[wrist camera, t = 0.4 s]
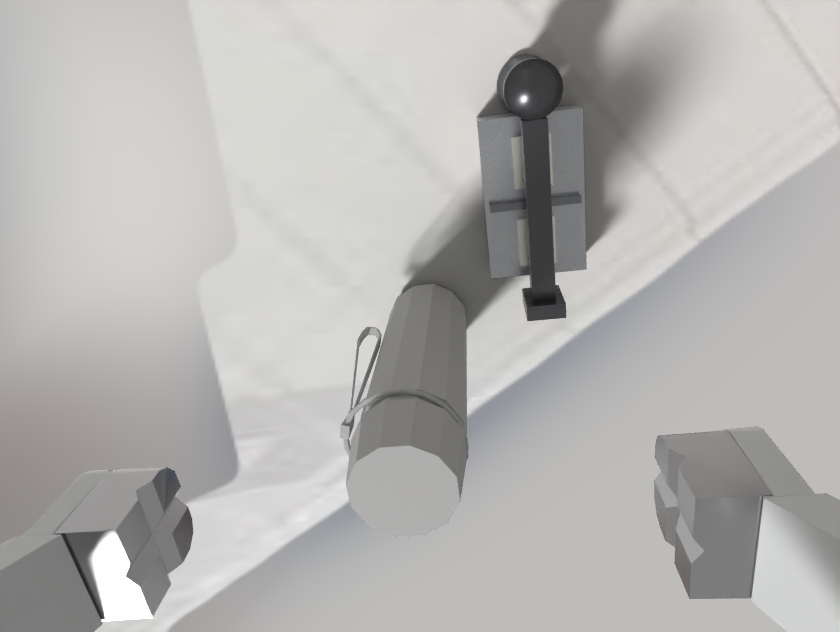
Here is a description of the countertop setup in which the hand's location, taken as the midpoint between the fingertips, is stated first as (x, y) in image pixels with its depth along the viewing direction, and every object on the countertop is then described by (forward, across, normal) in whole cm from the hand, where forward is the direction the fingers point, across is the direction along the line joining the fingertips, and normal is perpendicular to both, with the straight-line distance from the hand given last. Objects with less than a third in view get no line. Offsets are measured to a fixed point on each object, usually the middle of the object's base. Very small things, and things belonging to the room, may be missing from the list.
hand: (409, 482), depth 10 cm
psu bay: (+44, -6, +5) cm, 45 cm away
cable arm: (+40, -6, +4) cm, 40 cm away
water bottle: (+44, +5, +16) cm, 47 cm away
